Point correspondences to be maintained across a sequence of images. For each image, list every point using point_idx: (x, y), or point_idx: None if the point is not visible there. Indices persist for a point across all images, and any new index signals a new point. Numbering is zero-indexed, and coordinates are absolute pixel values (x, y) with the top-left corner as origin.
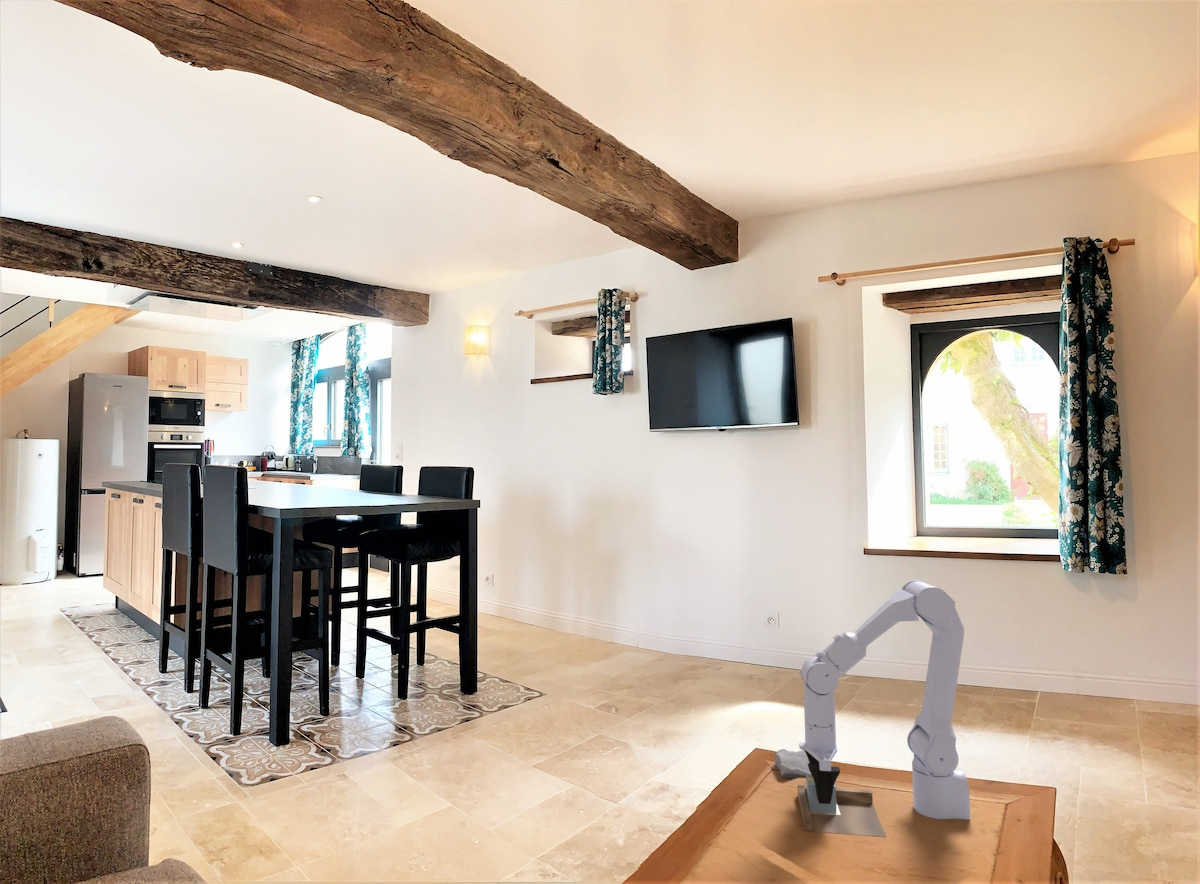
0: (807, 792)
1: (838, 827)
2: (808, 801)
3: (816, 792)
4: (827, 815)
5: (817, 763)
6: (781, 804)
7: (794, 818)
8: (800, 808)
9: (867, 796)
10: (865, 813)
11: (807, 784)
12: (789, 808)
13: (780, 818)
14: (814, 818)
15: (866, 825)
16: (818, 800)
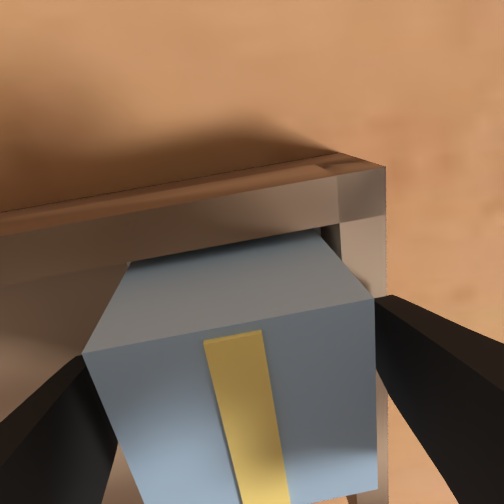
0: (219, 266)
1: (27, 396)
2: (148, 264)
3: (22, 405)
4: None
5: (497, 469)
6: (277, 43)
7: (111, 149)
8: (162, 191)
9: (351, 497)
10: None
11: (195, 309)
12: (236, 105)
13: (66, 54)
14: (69, 281)
15: (117, 484)
16: (66, 365)
